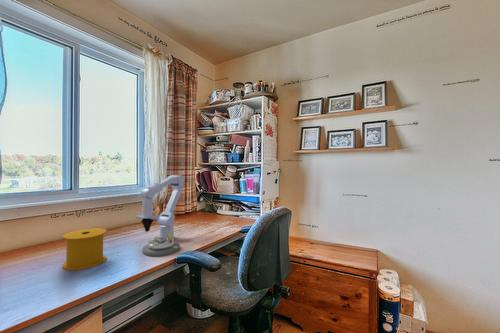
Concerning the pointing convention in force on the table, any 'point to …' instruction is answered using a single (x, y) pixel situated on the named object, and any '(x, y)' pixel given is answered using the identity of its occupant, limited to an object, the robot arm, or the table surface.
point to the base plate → (160, 252)
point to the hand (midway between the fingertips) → (147, 231)
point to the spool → (84, 248)
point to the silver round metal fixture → (161, 243)
